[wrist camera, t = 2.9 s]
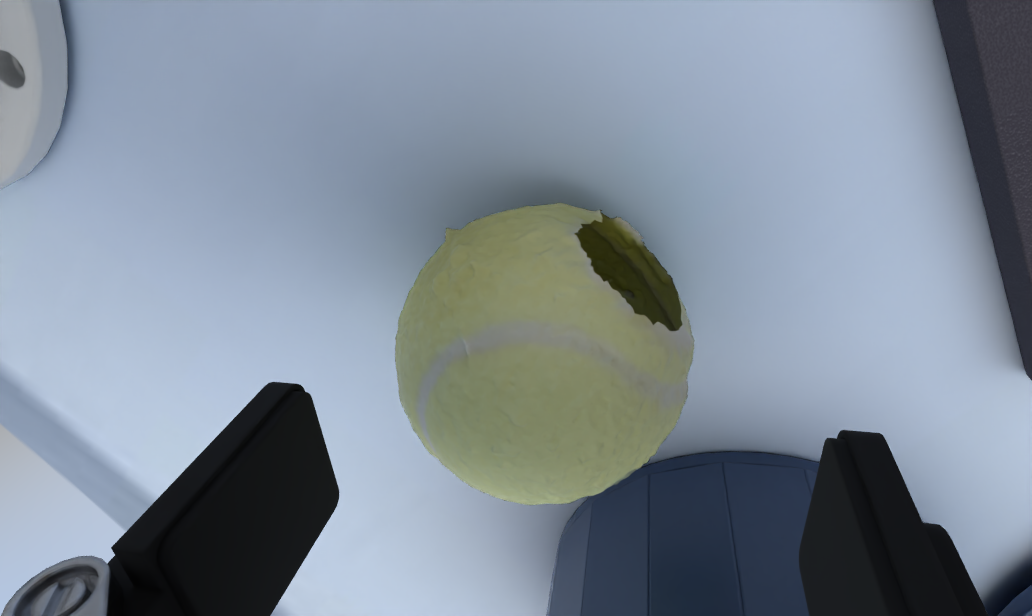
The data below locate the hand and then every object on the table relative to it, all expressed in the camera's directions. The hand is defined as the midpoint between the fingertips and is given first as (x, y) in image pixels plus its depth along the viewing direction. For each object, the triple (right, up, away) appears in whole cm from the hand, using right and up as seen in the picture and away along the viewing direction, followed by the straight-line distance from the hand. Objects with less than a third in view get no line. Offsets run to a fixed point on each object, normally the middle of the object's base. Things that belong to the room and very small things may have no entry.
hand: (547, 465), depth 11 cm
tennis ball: (+1, +4, +6) cm, 7 cm away
